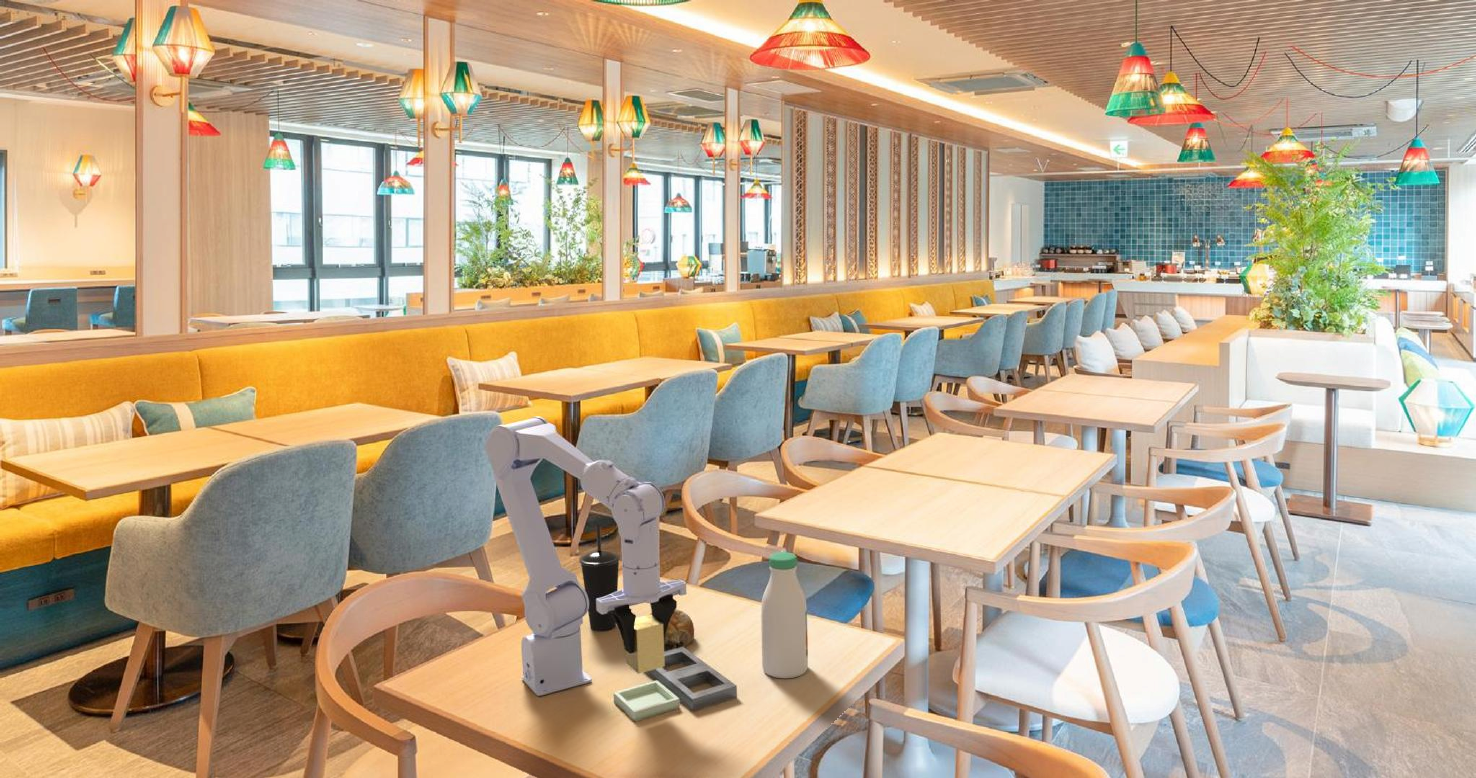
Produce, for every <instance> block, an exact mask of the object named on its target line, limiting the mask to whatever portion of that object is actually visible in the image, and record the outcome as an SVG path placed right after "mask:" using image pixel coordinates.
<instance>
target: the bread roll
mask: <svg viewBox="0 0 1476 778" xmlns="http://www.w3.org/2000/svg"><path fill="white" fill-rule="evenodd" d="M648 615H652V611H651V613H650V614H648ZM694 626H695V625H694V623H693V620H692V619H691V617H690V615H688V614H687V613H685V612H684V611H682V610H680V609H677V608H676V609H675V611H674V613H673V615H672V617H671V619H670V621H669V624H668V627H667V631H666V635H665V640H664V652H665V651H669V650H672V649H676V648H680V647H684V648H686V647H687V646H689V644H691V643H692V641H693V639H695V628H694Z"/></svg>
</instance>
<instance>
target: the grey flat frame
mask: <svg viewBox="0 0 1476 778" xmlns="http://www.w3.org/2000/svg"><path fill="white" fill-rule="evenodd" d="M664 660H665V667H661V668H657V669H654V670H650V671H647V673H646V674H648V676H650V677H651V678H652V677H653V678H652V679H653V680H654V681H656V680H657V681H659V682H660V683H661V684H662V685H664V686H665V687H666V688H667V689H668V690H670V691H671V692H672V693H673V694H674V695H676V696H677V697H678V698H679V699H680V702H681V703H682V704H683V705H685V706H686V707H687V708H688V709H690V710H691V711H692V712H695V711H699V710H701V709H704V708H707V707H711V706H714V705H717V704H720V703H724V702H727V701H731V700H734V699H736V698H738V687H737V686H738V685H737V684H735V683H734V682H732V680H729V679H728V678H727V677H726V676H725V675H723V674H722V673H720V672H718V671H717V670H716V669H714V668H713V667H712V666H710V665H709V664H708V663H706V662H704V661H703V660H702V659H700V657H698V656H696V655H695V654H694V653H693V652H691V651H690V650H688V649H687V648H686V647H680V648H676V649H672V650H669V651H665V652H664ZM681 663H682V664H683V665H685V666H684V667H683V666H682V667H681V668H677V669H674V670H673V669H672V670H670V671H669V670H668V671H667V670H665V669H664V668H667V666H668V667H670V666H674V665H679V664H681ZM705 683H708V684H710V685H711V686H712V687H710V688H709V687H708V688H706V689H703V690H699V691H696V692H693V691H692V690H691V689H689V688H692V687H696V686H700V685H702V684H705Z"/></svg>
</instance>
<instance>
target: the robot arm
mask: <svg viewBox="0 0 1476 778" xmlns="http://www.w3.org/2000/svg"><path fill="white" fill-rule="evenodd" d="M557 430H558V429H557V427H556V425H555V424H553V423H551V422H549V421H548V420H547V419H545V418H544V417H541V416H533V417H531V418H528V419H525V420H520V421H516V422H511V423H507V424H499V425H496V426H494V427H493V428H491V430H490V431H489V434H488V436H487V438H486V441H485V443H484V449H485V451H486V454H487V458H488V460H489V462H490V467H491V468H492V471H493V479H494V481H495V485H496V487H497V490H498V492H499V495H500V498H501V501H502V503H503V504H502V505H503V507H504V509H505V513H506V515H507V518H508V521H509V523H510V526H511V530H512V533H513V535H514V537H515V540H516V543H517V547H518V549H519V551H520V555H521V558H522V560H523V563H524V566H525V569H526V571H527V574H528V576H529V580H528V582H527V584H526V586H525V588H524V590H523V591H522V593H521V599H522V602H523V604H524V605H523V606H524V618H525V622H526V624H527V626H528V628H529V629H530V630H531V631H532V633H530V634H527V635H525V636H523V637H522V639H521V662H522V663H521V664H522V676H521V679H522V680H523V681H524V683H525V684H526V685H527V686H528V687H529V689H530V690H531V691H533V693H534V694H535V695H536V696H537V697H540V696H544V695H548V694H551V693H555V692H559V691H562V690H566V689H570V688H573V687H576V686H580V685H584V684H588V683H590V682H592V681H593V680H592V677H591V676H590V675H589V674H588V673H586V672H585V671H584V669H583V651H582V635H581V625H582V624H583V623H584V619H583V618H584V617H585V616H586V615H587V613H588V609H589V599H588V596H587V593H586V591H585V587H584V588H583V586H582V585H581V584H580V582H579V580H578V577H577V575H576V573H575V572H573V571H571V570H569V569H566V568H565V567H563V566H562V564H561V561H560V559H559V556H558V553H557V550H556V548H555V545H554V541H553V539H552V536H551V534H550V531H549V527H548V525H547V522H546V519H545V517H544V514H543V511H542V508H541V506H540V503H539V500H538V497H537V494H536V491H535V489H534V486H533V484H532V480H531V477H532V475H533V472H534V470H535V469H536V467H537V466H538V465H539V464H540V463H541V461H543V459H544V460H547V461H548V462H550V463H551V464H553V465H555V466H557V467H558V468H560V469H562V470H563V471H564V472H567V473H568V474H570V475H572V476H573V477H575V478H577V479H578V480H580V486H581V487H580V488H581V490H582V491H583V492H584V493H586V494H588V496H590V497H592V498H594V499H595V500H596V501H598V502H599V503H600V504H602V505H603V506H605V507H606V508H608V509H609V510H610V511H611V515H612V518H613V519H614V520H613V521H614V522H615V523H616V525H617V529H618V532H617V533H618V534H619V537H620V542H621V543H620V544H621V546H620V547H621V548H620V549H621V567H622V569H621V570H622V571H621V572H622V587H623V588H621V589H618V590H617V591H616V592H614V593H612V594H609V595H607V596H604V597H601V598H597V599H596V609H597V611H598V612H599V613H600V614H606V613H608V611H609V612H610V613H611V615H612V617H613V619H614V620H615V622H616V626H617V628H618V631H619V634H620V636H621V639H622V643H623V647H624V650H626V651H627V652H628V653H630V654H631V653H634V647H635V644H634V625H635V619H636V618H637V614H635V613H633V611H632V608H630V607H632V606H636V605H640V604H644V603H645V604H649V605H650V609H651V610H650V611H651V612H652V616H653V617H654V618H656V619H657V620H659V621H660V622H662V623H663V634H664V640H665V635H666V631H667V627H668V624H669V621H670V619H671V617H672V615H673V613H674V611H675V609H677V606H678V603H677V602H678V601H677V600H676V599H674V597H675V596H685V595H687V593H688V592H687V582H686V581H684V580H682V579H677V580H669V581H668V580H667V581H661V573H660V571H661V567H660V543H659V542H660V541H659V540H660V539H659V519H658V518H660V517H661V515H662V514H663V513H664V512H665V511H664V510H665V507H666V506H665V505H666V501H665V497H664V494H663V492H662V491H661V489H660V488H659V487H658V486H657V485H656V484H655V483H653V482H651V481H644V482H640V481H637V479H636V478H634V477H633V476H629V475H627V474H626V473H624V472H622V471H621V470H620V469H618V468H617V467H615V463H614V462H612V461H611V460H609V459H608V460H604V459H599V460H596V461H593V459H591V458H589V457H588V456H587V455H586V454H584V453H583V452H582V451H581V450H580V449H578V448H577V447H576V446H574V445H573V444H572V443H570V442H569V441H568V440H566V438H564V437H563V436H562V435H560V434H559V433H558V431H557ZM554 588H555V589H554ZM552 589H553V590H552ZM626 651H625V652H626Z"/></svg>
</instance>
